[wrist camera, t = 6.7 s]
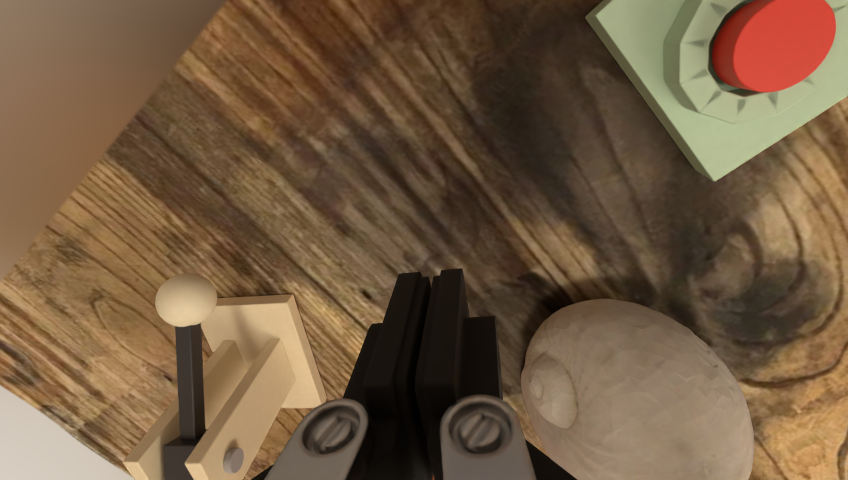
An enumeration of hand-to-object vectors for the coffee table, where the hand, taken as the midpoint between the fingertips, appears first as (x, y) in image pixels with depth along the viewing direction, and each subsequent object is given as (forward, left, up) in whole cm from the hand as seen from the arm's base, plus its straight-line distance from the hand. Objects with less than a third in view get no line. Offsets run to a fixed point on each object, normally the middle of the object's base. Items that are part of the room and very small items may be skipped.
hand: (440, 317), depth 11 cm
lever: (-13, -16, -10) cm, 23 cm away
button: (+11, +9, -12) cm, 19 cm away
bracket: (-12, -20, -16) cm, 28 cm away
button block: (+11, +9, -16) cm, 22 cm away
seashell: (+15, -13, -16) cm, 26 cm away
